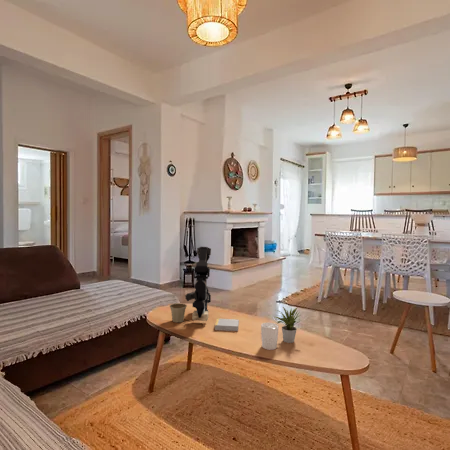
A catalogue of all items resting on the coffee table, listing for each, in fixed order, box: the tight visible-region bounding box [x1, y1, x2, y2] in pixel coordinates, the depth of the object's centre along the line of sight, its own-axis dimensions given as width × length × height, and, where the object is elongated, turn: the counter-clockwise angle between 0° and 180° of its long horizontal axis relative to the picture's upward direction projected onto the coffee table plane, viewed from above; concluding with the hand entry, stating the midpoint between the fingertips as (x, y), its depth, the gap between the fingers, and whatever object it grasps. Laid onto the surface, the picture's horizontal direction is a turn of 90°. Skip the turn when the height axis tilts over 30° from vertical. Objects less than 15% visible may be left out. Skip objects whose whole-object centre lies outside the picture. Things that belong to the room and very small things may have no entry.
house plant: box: [274, 306, 301, 344], centre depth 157 cm, size 14×14×16 cm
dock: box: [214, 318, 240, 332], centre depth 173 cm, size 11×12×3 cm
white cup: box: [260, 322, 279, 351], centre depth 148 cm, size 8×8×10 cm
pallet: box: [191, 309, 210, 322], centre depth 178 cm, size 8×6×4 cm
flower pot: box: [169, 302, 188, 324], centre depth 181 cm, size 9×9×9 cm
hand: (200, 315), depth 178 cm, fingers closed on pallet, 6 cm apart
